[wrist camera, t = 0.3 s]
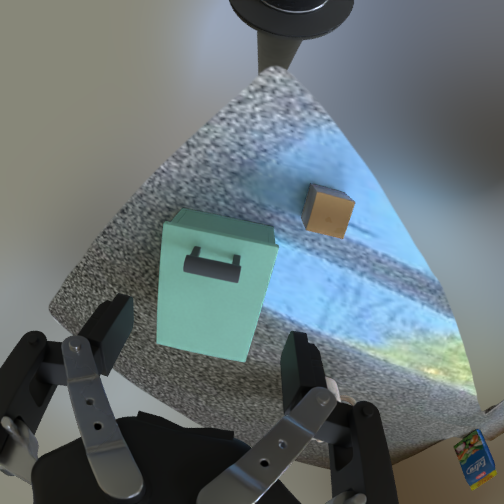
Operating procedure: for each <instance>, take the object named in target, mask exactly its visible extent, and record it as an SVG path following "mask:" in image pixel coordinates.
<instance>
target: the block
mask: <svg viewBox="0 0 504 504" xmlns="http://www.w3.org/2000/svg"><path fill="white" fill-rule="evenodd" d="M354 205H355V201H354V200H352V199H351V198H350V197H349V196H348V195H347V194H345V193H344V192H341V191H337V190H334V189H330V188H327V187H323V186H319V185H316V184H312V183H310V186H309V190H308V193H307V197H306V200H305V204H304V207H303V211H302V214H301V219H302V222H303V224H304V226H305V229H306V230H307V231H312V232H316V233H320V234H324V235H328V236H333V237H337V238H341V239H343V238H344V235H345V232H346V229H347V226H348V223H349V220H350V217H351V214H352V211H353V208H354Z"/></svg>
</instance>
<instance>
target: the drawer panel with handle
mask: <svg viewBox="0 0 504 504" xmlns="http://www.w3.org/2000/svg"><path fill="white" fill-rule="evenodd" d="M278 250H279V245H277V244H273V243H268V242H263V241H259V240H254V239H249V238H245V237H240V236H235V235H230V234H226V233H221V232H216V231H211V230H207V229H202V228H197V227H192V226H187V225H182V224H178V223H173V222H168V221H165V222H164V224H163V233H162V243H161V255H160V268H159V284H158V305H157V344H161V345H165V346H169V347H173V348H178V349H182V350H186V351H190V352H195V353H200V354H204V355H209V356H214V357H219V358H224V359H229V360H235V361H241V362H245V361H246V357H247V354H248V351H249V348H250V344H251V341H252V338H253V335H254V331H255V328H256V325H257V321H258V318H259V315H260V311H261V308H262V305H263V301H264V298H265V295H266V291H267V288H268V284H269V281H270V277H271V274H272V271H273V267H274V264H275V260H276V257H277V253H278Z"/></svg>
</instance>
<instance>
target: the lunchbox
mask: <svg viewBox="0 0 504 504" xmlns="http://www.w3.org/2000/svg"><path fill="white" fill-rule="evenodd" d="M171 222H173V223H178V224H182V225H187V226H192V227H197V228H202V229H207V230H211V231H216V232H221V233H226V234H230V235H235V236H240V237H245V238H249V239H254V240H259V241H263V242H268V243H273V244H275V236H274V227H272V226H267V225H263V224H258V223H254V222H249V221H244V220H240V219H235V218H230V217H226V216H221V215H216V214H211V213H206V212H201V211H196V210H191V209H186V208H182V209H181V210H180V211H179V213H178V214H177V215H176V216H175V217H174V218H173V220H172V221H171Z"/></svg>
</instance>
